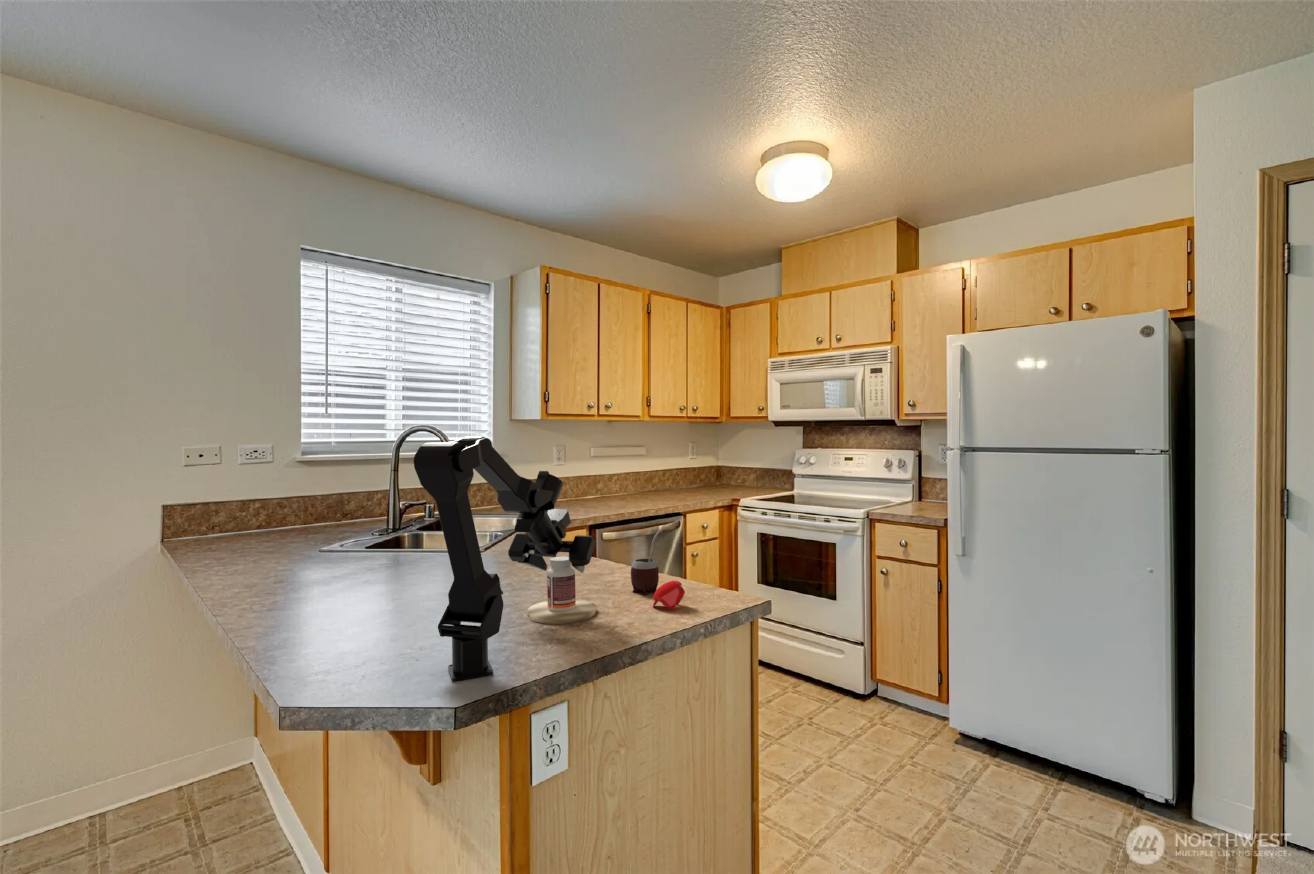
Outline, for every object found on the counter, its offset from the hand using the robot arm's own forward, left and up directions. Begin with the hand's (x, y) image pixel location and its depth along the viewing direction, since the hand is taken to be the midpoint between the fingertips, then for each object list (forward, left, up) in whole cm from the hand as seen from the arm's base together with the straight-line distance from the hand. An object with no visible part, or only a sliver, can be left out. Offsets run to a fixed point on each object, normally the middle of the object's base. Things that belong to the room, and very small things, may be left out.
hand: (564, 569), depth 133 cm
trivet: (-1, +1, -9) cm, 9 cm away
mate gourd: (+7, -23, -10) cm, 26 cm away
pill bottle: (-1, +1, -8) cm, 8 cm away
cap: (-8, -22, -10) cm, 25 cm away
